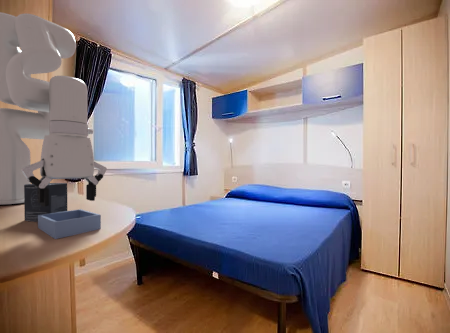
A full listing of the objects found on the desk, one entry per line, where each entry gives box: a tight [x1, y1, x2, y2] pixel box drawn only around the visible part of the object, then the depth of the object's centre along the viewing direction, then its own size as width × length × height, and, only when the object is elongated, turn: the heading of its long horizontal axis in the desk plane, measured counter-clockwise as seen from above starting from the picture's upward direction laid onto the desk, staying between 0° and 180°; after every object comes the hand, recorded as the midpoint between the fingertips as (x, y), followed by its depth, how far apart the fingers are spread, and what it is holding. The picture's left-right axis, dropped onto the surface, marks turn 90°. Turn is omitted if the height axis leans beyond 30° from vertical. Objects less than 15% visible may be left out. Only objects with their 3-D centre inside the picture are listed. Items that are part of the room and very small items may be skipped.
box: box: [23, 182, 68, 223], centre depth 62 cm, size 8×6×11 cm
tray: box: [37, 208, 102, 240], centre depth 55 cm, size 11×9×4 cm
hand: (69, 202), depth 55 cm, fingers open, 9 cm apart
